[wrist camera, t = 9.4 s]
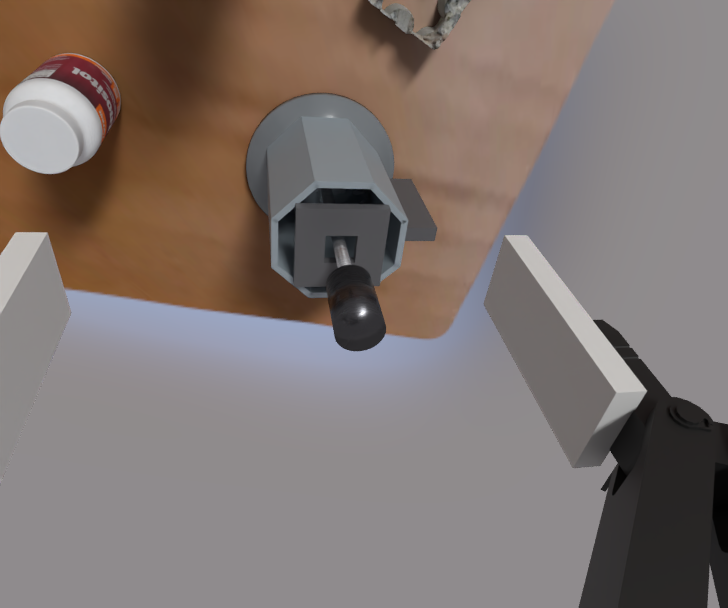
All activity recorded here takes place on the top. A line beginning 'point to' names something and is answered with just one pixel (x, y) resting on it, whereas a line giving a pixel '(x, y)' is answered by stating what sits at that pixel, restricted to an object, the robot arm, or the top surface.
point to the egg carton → (449, 9)
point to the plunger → (350, 284)
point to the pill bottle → (59, 114)
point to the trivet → (310, 107)
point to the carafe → (337, 205)
